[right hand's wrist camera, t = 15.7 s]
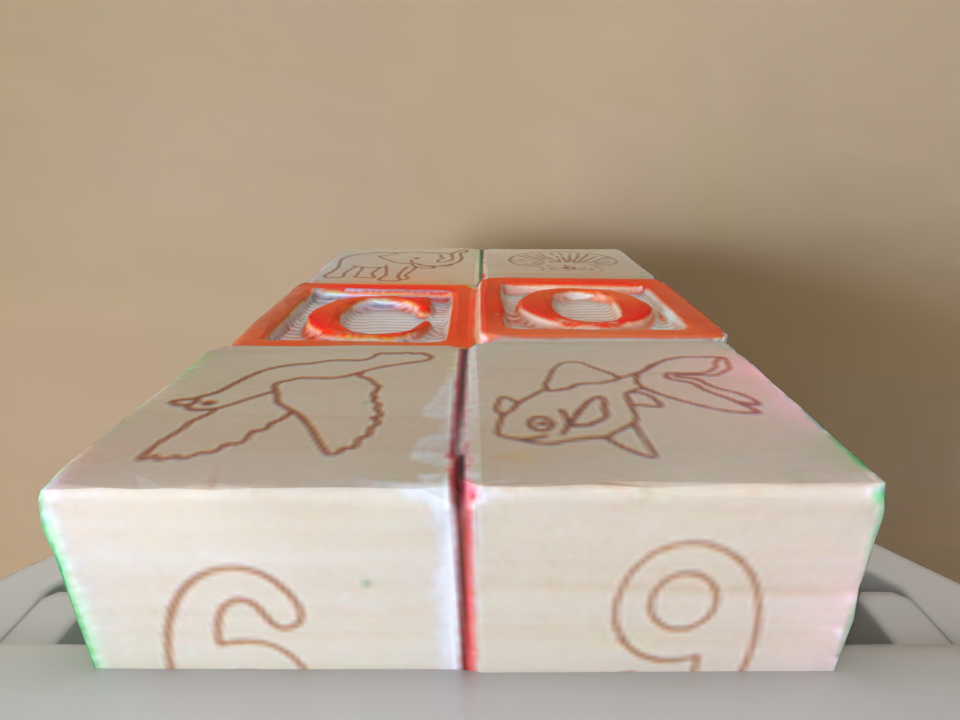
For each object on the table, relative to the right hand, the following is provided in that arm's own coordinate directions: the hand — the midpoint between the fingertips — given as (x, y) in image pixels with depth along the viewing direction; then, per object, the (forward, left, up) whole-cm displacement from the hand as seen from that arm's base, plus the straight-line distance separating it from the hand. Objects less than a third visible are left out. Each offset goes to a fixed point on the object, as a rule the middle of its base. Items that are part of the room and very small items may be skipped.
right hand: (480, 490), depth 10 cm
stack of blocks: (+6, -4, -4) cm, 8 cm away
